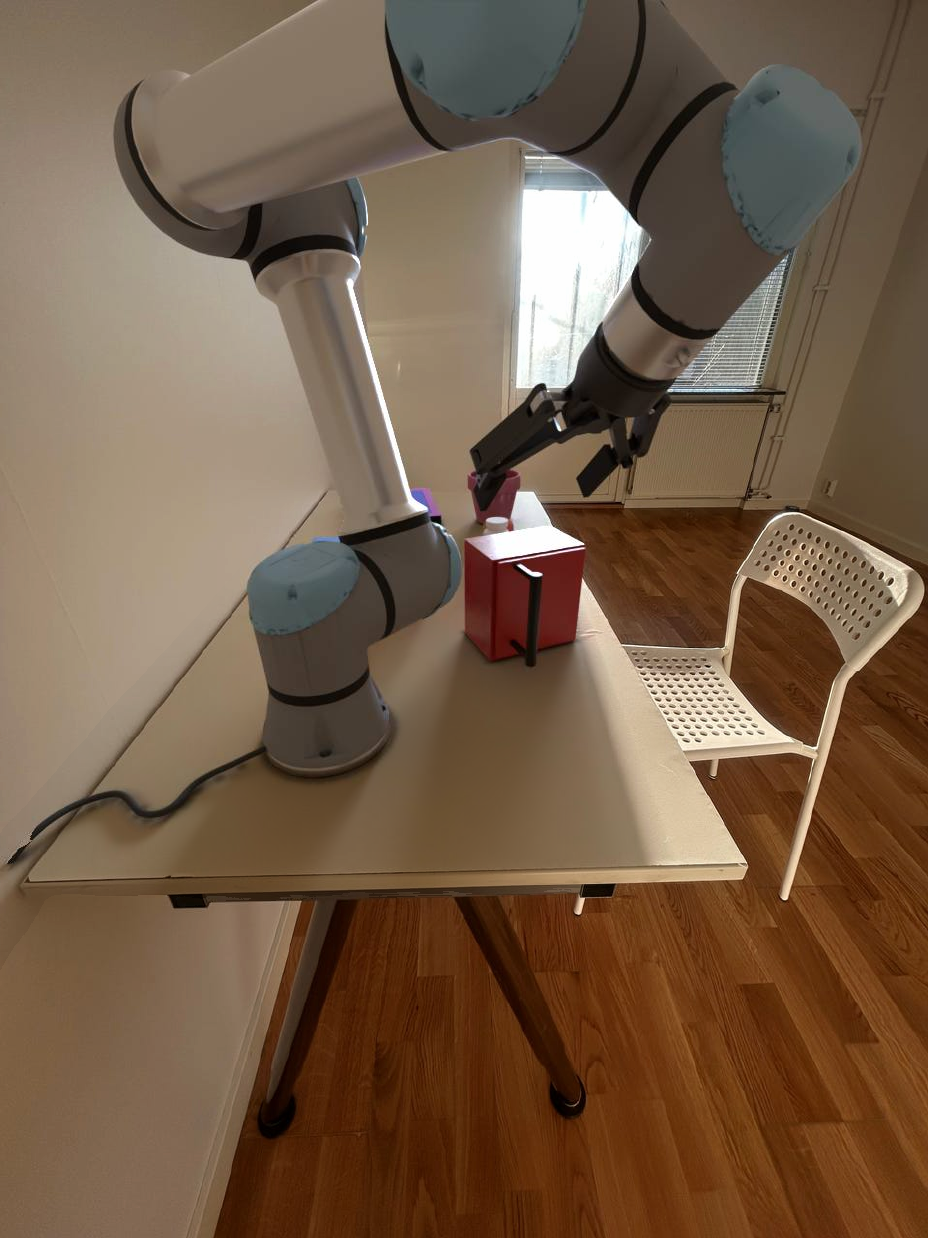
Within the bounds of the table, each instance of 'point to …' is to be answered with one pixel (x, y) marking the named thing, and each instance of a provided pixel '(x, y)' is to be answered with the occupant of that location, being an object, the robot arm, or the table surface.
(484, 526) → the apple
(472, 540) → the cabinet
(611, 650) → the table surface
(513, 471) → the flower pot
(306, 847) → the table surface
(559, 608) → the red cabinet door
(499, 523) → the pill bottle
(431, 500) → the book
